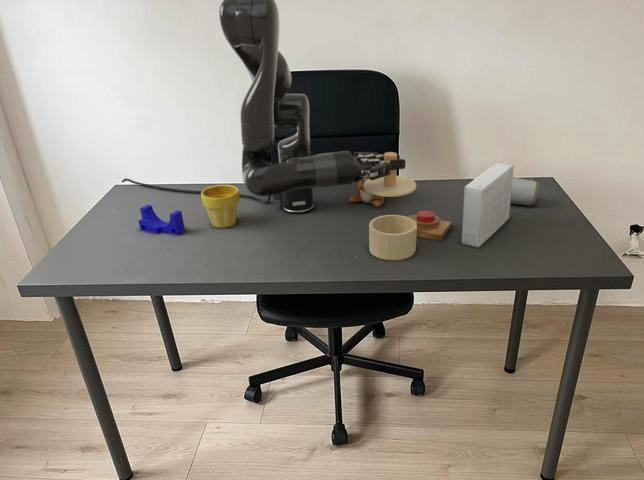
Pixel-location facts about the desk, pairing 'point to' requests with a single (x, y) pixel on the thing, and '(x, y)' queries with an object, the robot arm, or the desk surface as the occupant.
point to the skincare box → (486, 204)
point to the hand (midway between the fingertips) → (401, 161)
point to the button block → (432, 228)
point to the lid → (390, 182)
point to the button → (425, 216)
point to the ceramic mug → (523, 191)
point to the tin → (392, 237)
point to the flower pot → (221, 204)
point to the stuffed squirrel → (366, 194)
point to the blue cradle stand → (160, 222)
